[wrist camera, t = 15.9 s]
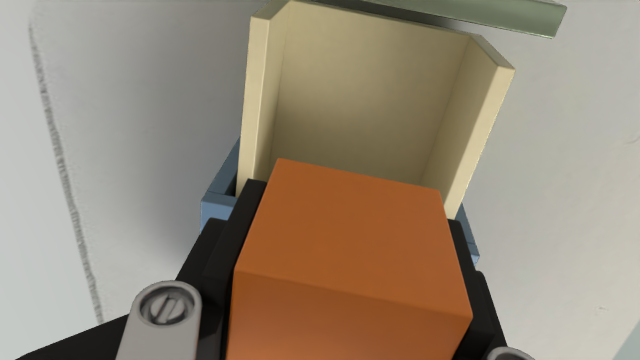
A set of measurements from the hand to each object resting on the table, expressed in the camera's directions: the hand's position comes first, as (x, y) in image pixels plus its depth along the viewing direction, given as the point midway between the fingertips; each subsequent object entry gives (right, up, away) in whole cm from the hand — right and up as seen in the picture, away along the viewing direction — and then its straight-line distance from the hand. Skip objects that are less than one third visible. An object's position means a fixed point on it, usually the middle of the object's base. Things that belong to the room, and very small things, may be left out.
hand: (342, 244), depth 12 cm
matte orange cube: (0, 0, 0) cm, 0 cm away
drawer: (+2, +9, +12) cm, 15 cm away
